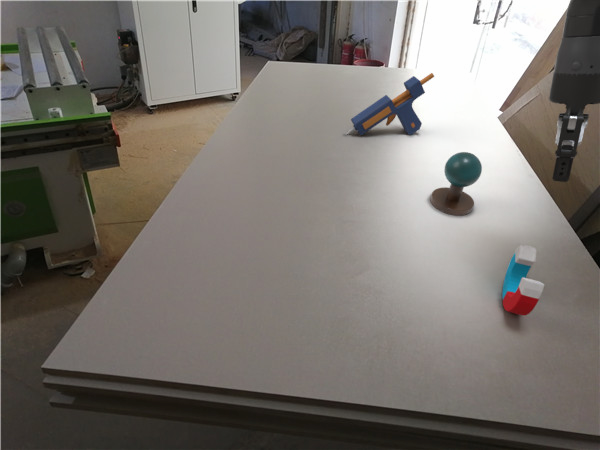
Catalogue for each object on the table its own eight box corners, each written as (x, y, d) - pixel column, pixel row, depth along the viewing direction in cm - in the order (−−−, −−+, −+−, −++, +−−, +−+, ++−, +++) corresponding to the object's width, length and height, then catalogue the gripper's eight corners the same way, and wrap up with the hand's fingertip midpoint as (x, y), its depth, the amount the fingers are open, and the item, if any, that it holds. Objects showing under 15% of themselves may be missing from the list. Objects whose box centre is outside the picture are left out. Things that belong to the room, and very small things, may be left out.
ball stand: (475, 200, 101) (494, 151, 92) (467, 220, 94) (487, 169, 85) (436, 188, 104) (451, 140, 96) (425, 206, 97) (440, 156, 89)
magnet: (500, 279, 78) (520, 240, 72) (515, 283, 78) (536, 244, 72) (504, 325, 70) (527, 285, 63) (521, 330, 69) (546, 289, 63)
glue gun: (361, 159, 135) (339, 126, 126) (438, 102, 131) (422, 64, 122) (368, 167, 131) (347, 134, 121) (449, 108, 126) (433, 69, 117)
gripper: (616, 72, 53) (588, 189, 60) (612, 65, 64) (589, 164, 70) (550, 73, 57) (531, 183, 64) (557, 66, 68) (539, 160, 74)
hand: (561, 173), depth 67 cm, fingers open, 8 cm apart
